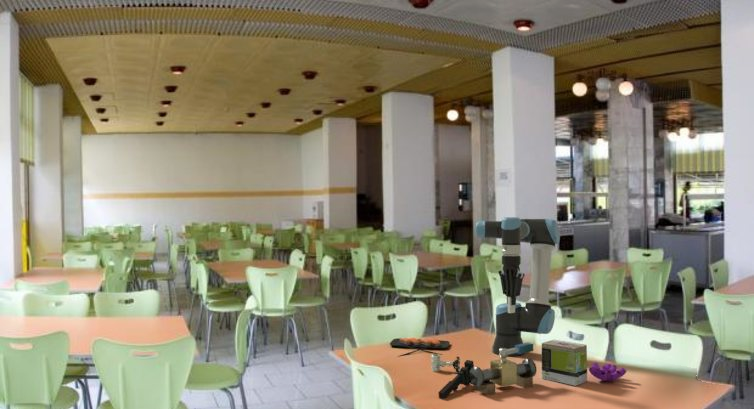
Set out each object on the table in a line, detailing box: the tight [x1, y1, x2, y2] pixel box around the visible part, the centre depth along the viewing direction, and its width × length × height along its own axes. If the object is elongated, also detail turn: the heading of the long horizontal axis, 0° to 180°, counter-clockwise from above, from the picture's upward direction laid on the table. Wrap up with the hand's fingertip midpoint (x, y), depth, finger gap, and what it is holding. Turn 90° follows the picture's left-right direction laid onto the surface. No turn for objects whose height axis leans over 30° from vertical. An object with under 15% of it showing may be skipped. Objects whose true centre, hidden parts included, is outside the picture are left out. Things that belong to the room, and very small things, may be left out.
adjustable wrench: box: [438, 359, 475, 400], centre depth 228 cm, size 8×3×25 cm
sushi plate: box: [389, 337, 450, 357], centre depth 289 cm, size 29×30×4 cm
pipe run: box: [470, 357, 537, 396], centre depth 230 cm, size 27×8×12 cm, turn 116°
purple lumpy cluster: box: [588, 362, 627, 382], centre depth 238 cm, size 11×15×10 cm
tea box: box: [541, 339, 588, 387], centre depth 239 cm, size 15×10×15 cm, turn 44°
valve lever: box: [498, 342, 534, 359], centre depth 234 cm, size 18×3×3 cm, turn 126°
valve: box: [430, 353, 461, 373], centre depth 253 cm, size 7×7×12 cm
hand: (511, 312), depth 244 cm, fingers closed
